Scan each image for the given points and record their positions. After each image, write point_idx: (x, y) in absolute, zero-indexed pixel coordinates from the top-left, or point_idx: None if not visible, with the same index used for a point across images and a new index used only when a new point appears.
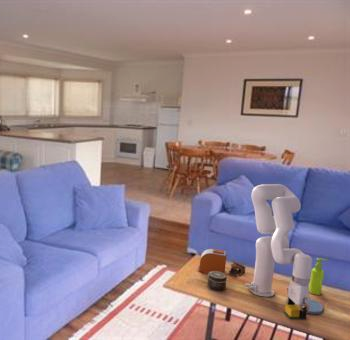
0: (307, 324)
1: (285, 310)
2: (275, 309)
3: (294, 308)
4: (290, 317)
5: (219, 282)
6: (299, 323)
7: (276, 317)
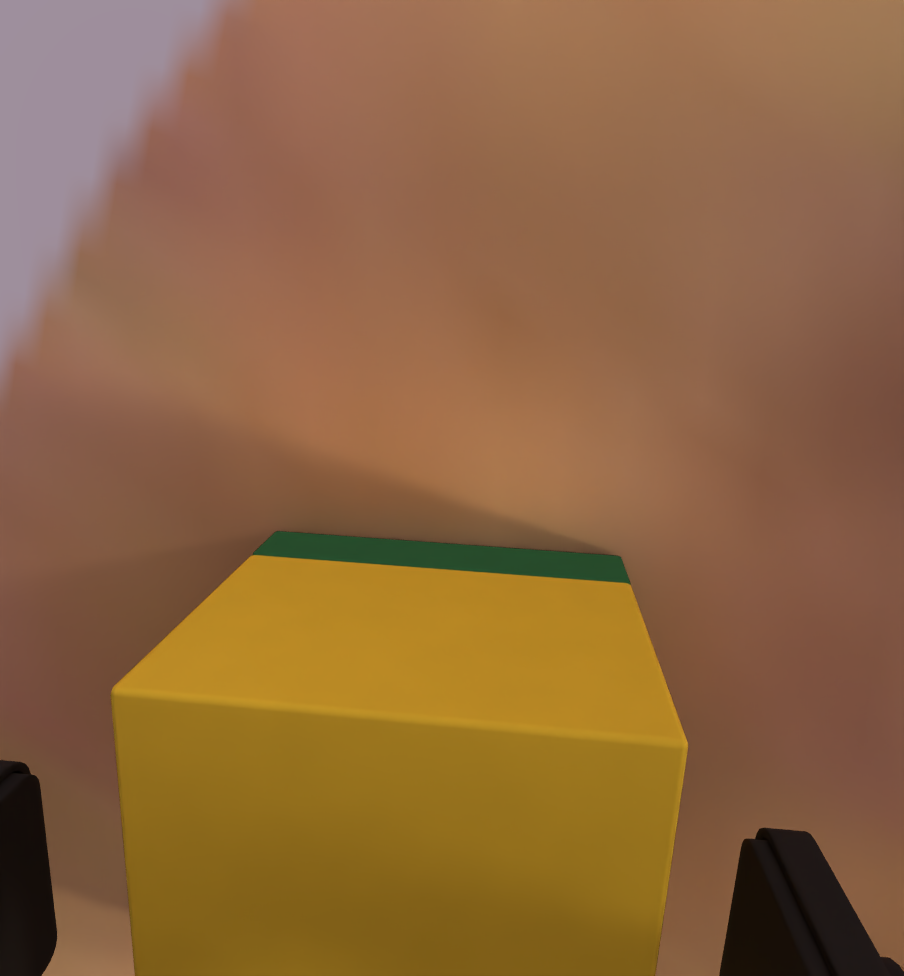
0: None
1: (587, 599)
2: (896, 362)
3: (278, 940)
4: (262, 554)
5: None
6: (39, 652)
7: (340, 56)
